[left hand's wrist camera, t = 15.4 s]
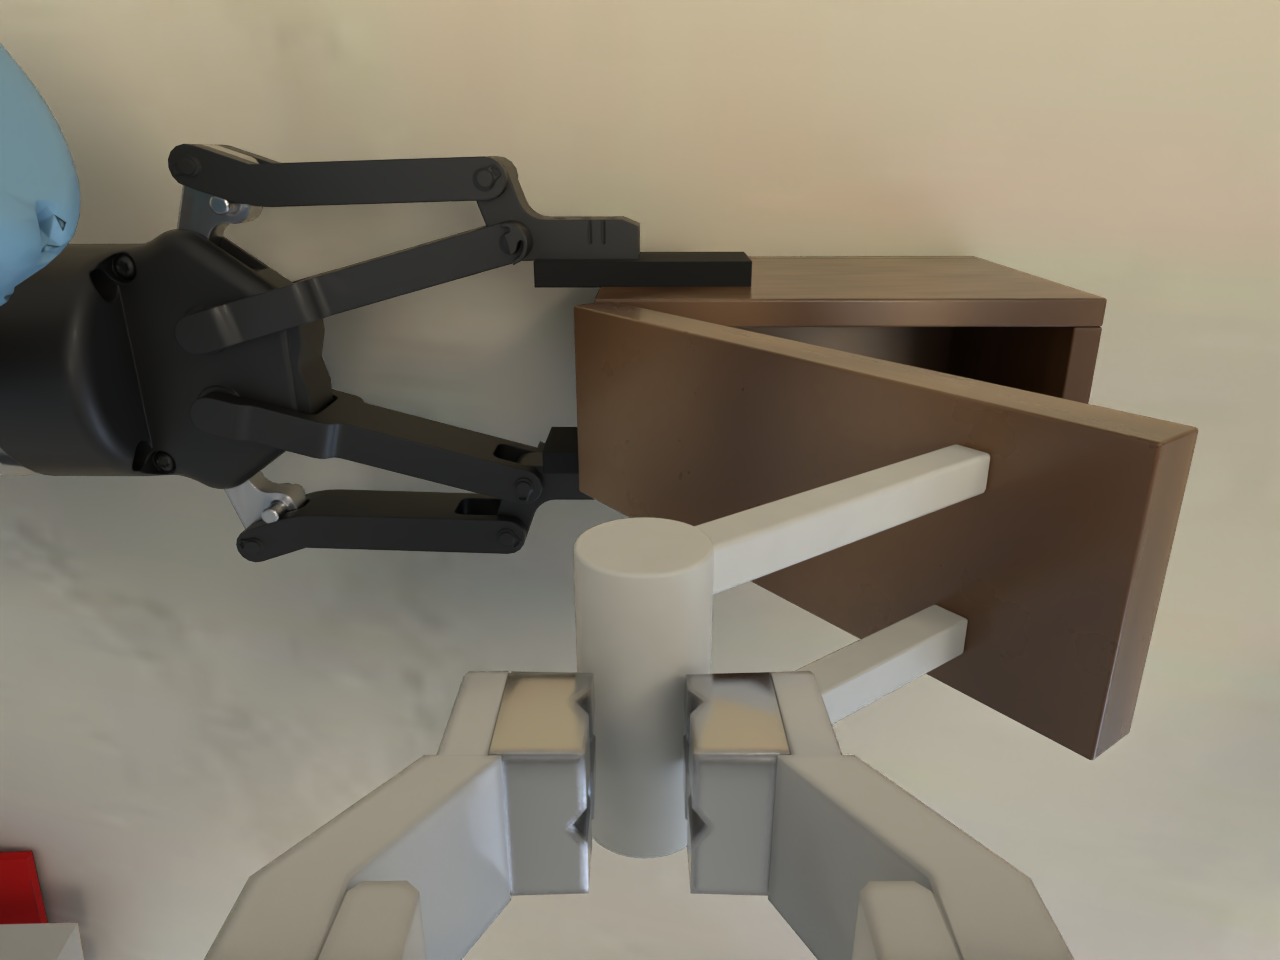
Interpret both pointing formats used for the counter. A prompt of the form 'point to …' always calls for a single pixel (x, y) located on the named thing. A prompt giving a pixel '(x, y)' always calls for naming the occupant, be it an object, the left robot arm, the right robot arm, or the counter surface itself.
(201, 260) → the right robot arm
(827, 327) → the chest
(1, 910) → the toy
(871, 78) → the counter surface
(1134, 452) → the door
